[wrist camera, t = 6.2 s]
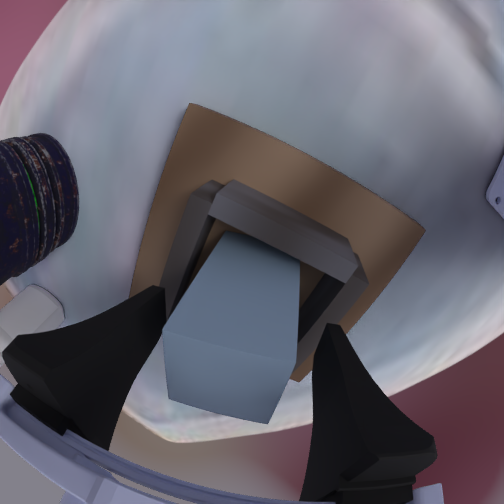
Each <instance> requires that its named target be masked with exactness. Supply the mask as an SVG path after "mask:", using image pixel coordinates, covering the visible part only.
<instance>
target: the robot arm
mask: <svg viewBox="0 0 504 504" xmlns="http://www.w3.org/2000/svg"><path fill="white" fill-rule="evenodd" d="M496 198H497V201H496V202H495V200H496ZM486 199H487V201H488V202H489V203H490V204H491V205H492V206H493V207H494V209H495V210H496V211H497V212H498V213H499V214H500V215H501V217H502V218H503V219H504V156H503V158H502V160H501V163H500V165H499V167H498V169H497V171H496V173H495V175H494V178H493V180H492V182H491V184H490V186H489V188H488V189H487V192H486ZM166 323H167V319H166V301H165V288H162V287H159V286H155V285H152V286H150V287H148V288H146V289H145V290H143V291H141V292H139V293H138V294H136V295H134V296H133V297H131V298H129V299H127V300H126V301H124V302H122V303H120V304H118V305H117V306H115V307H113V308H111V309H109V310H107V311H105V312H103V313H101V314H99V315H96V316H94V317H92V318H89V319H87V320H84V321H82V322H79V323H76V324H73V325H69V326H66V327H63V328H59V329H55V330H51V331H46V332H40V333H32V334H22V335H17V336H16V337H15V338H14V340H13V341H12V342H11V343H10V344H9V345H8V346H7V347H6V348H5V349H4V350H3V351H2V357H3V360H4V362H5V364H6V366H7V367H8V369H9V370H10V372H11V374H12V375H13V376H14V378H15V380H16V381H17V383H18V384H17V385H16V387H14V386H13V385H12V384H11V383H10V382H9V381H8V380H7V379H6V378H5V377H3V376H2V375H1V374H0V438H1V439H2V440H3V441H4V442H5V443H6V444H7V445H8V446H9V447H11V448H12V449H13V450H14V451H15V452H16V453H17V454H18V455H19V456H21V457H22V458H23V459H24V460H25V461H27V462H28V463H29V464H30V465H31V466H33V467H34V468H35V469H36V470H38V471H39V472H40V473H42V474H43V475H44V476H46V477H47V478H48V479H50V480H51V481H52V482H54V483H55V484H57V485H58V486H60V487H61V488H63V489H64V490H66V492H65V493H64V495H63V497H62V499H61V501H60V503H59V504H177V503H174V502H171V501H168V500H165V499H162V498H159V497H156V496H153V495H151V494H148V493H145V492H142V491H140V490H137V489H135V488H132V487H129V486H127V485H125V484H122V483H120V482H119V481H118V480H116V479H115V478H114V477H113V476H112V474H111V473H110V472H108V471H106V470H105V469H107V470H109V471H111V472H113V473H115V474H117V475H120V476H122V477H124V478H126V479H128V480H131V481H133V482H135V483H138V484H140V485H143V486H145V487H148V488H150V489H153V490H156V491H158V492H161V493H164V494H167V495H170V496H173V497H176V498H180V499H183V500H186V501H190V502H193V503H197V504H444V501H443V492H442V484H441V483H438V484H434V485H430V486H425V487H421V488H418V489H415V490H412V484H414V483H415V482H416V477H415V475H416V474H418V473H419V472H421V471H423V470H424V469H426V468H427V467H429V466H430V465H431V464H432V463H433V462H434V461H435V460H436V459H437V451H436V445H435V441H434V437H433V436H432V435H430V434H429V433H428V432H426V431H425V430H423V429H422V428H421V427H419V426H418V425H417V424H415V423H414V422H413V421H412V420H410V419H409V418H408V417H407V416H406V415H405V414H403V412H401V411H400V410H399V409H398V408H397V407H396V406H395V405H394V404H393V403H392V402H391V401H390V400H389V398H388V397H387V396H386V395H385V394H384V393H383V391H382V390H381V389H380V388H379V386H378V385H377V384H376V383H375V381H374V380H373V379H372V377H371V376H370V374H369V373H368V371H367V370H366V369H365V367H364V366H363V364H362V362H361V361H360V359H359V357H358V356H357V354H356V352H355V351H354V349H353V347H352V345H351V343H350V342H349V340H348V338H347V336H346V334H345V332H344V331H343V329H342V327H341V325H338V324H332V323H327V324H326V326H325V329H324V331H323V334H322V336H321V339H320V341H319V343H318V346H317V348H316V351H315V353H314V358H313V369H312V392H313V428H312V437H311V445H310V452H309V458H308V464H307V470H306V475H305V480H304V484H303V488H302V492H301V496H300V500H299V501H287V500H277V499H268V498H259V497H253V496H246V495H240V494H235V493H230V492H225V491H220V490H216V489H212V488H208V487H204V486H199V485H196V484H192V483H189V482H185V481H182V480H179V479H176V478H173V477H170V476H167V475H163V474H161V473H158V472H155V471H153V470H150V469H147V468H145V467H142V466H140V465H137V464H135V463H132V462H130V461H128V460H126V459H123V458H121V457H119V456H117V455H115V454H113V453H111V452H109V451H108V450H109V447H110V443H111V440H112V436H113V433H114V429H115V427H116V423H117V421H118V418H119V415H120V412H121V410H122V407H123V405H124V402H125V400H126V397H127V395H128V393H129V391H130V388H131V386H132V384H133V382H134V380H135V378H136V376H137V374H138V373H139V371H140V370H141V368H142V366H143V365H144V363H145V362H146V360H147V358H148V357H149V355H150V354H151V352H152V350H153V349H154V347H155V346H156V344H157V342H158V341H159V339H160V336H161V334H162V329H163V327H164V326H165V324H166ZM98 465H99V466H98ZM100 466H101V467H103V468H105V469H103V468H101V467H100Z"/></svg>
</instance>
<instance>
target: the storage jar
mask: <svg viewBox="0 0 504 504" xmlns="http://www.w3.org/2000/svg"><path fill="white" fill-rule="evenodd" d="M78 212H79V194H78V186H77V180H76V176H75V172H74V169H73V166H72V163H71V161H70V159H69V157H68V155H67V153H66V151H65V150H64V148H63V147H62V145H61V144H60V143H59V142H58V141H57V140H56V139H55V138H53V137H52V136H50V135H48V134H44V133H38V134H33V135H30V136H28V137H26V136H24V137H13V138H9V139H5V140H1V141H0V285H2V284H3V283H4V282H6V281H7V280H8V279H9V278H11V277H17V276H19V275H21V274H22V273H24V272H25V271H27V270H28V269H29V268H30V267H33V266H34V265H36V264H37V263H39V262H40V261H42V260H43V259H44V258H46V257H47V255H48V254H49V253H50V252H52V251H53V250H54V249H55V248H57V247H59V246H61V245H62V244H64V243H65V242H67V240H68V239H69V238H70V237H71V235H72V234H73V232H74V230H75V227H76V224H77V219H78Z"/></svg>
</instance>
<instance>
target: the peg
mask: <svg viewBox="0 0 504 504" xmlns="http://www.w3.org/2000/svg"><path fill="white" fill-rule="evenodd" d="M299 286H300V260H299V259H297V258H295V257H293V256H291V255H289V254H287V253H285V252H283V251H281V250H279V249H277V248H275V247H273V246H271V245H269V244H267V243H265V242H263V241H261V240H259V239H257V238H255V237H253V236H249V235H245V234H240V233H235V232H231V231H226V232H225V233H224V235H223V236H222V237H221V239H220V240H219V242H218V243H217V245H216V246H215V248H214V249H213V251H212V253H211V254H210V256H209V257H208V259H207V260H206V262H205V263H204V265H203V266H202V268H201V269H200V271H199V272H198V274H197V275H196V277H195V279H194V280H193V282H192V283H191V285H190V286H189V288H188V289H187V291H186V293H185V294H184V296H183V297H182V299H181V300H180V302H179V304H178V305H177V307H176V308H175V310H174V311H173V313H172V315H171V316H170V318H169V319H168V321H167V323H166V324H165V326H164V327H163V329H162V333H163V347H164V359H165V370H166V380H167V389H168V397H169V399H171V400H174V401H177V402H180V403H183V404H186V405H189V406H193V407H196V408H200V409H203V410H207V411H210V412H214V413H218V414H222V415H226V416H230V417H234V418H239V419H243V420H248V421H253V422H258V423H263V424H268V423H269V421H270V419H271V417H272V415H273V413H274V410H275V408H276V406H277V404H278V402H279V400H280V398H281V396H282V393H283V391H284V389H285V387H286V385H287V382H288V380H289V378H290V376H291V373H292V371H293V369H294V366H295V364H296V356H297V338H298V316H299Z"/></svg>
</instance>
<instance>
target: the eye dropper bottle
mask: <svg viewBox="0 0 504 504" xmlns="http://www.w3.org/2000/svg"><path fill="white" fill-rule="evenodd" d="M63 321H64V312H63V307H62V305H61V304H60V302H59V301H58V300H57V299H56V298H55V297H54V296H53V295H52V294H50V293H49V292H48V291H46V290H45V289H43V288H41V287H39V286H37V285H29V286H28V287H26V288H25V289H24V290H23V291H22V292H20V293H19V294H18V295H17V296H16V297H15V298H13V299H12V300H11V301H10V302H9V303H8V304H6V305H5V306H4V307H3V308H2V309H1V310H0V367H1V366H2V365H3V364H4V360H3V357H2V351H3V350H4V349H5V348H6V347H7V346H8V345H9V344H10V343H11V342H12V341H13V340H14V338H15V337H16V336H17V335H22V334H32V333H40V332H46V331H51V330H55V329H57V328H58V327H59V326H60V325H61V324H62V323H63Z"/></svg>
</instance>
